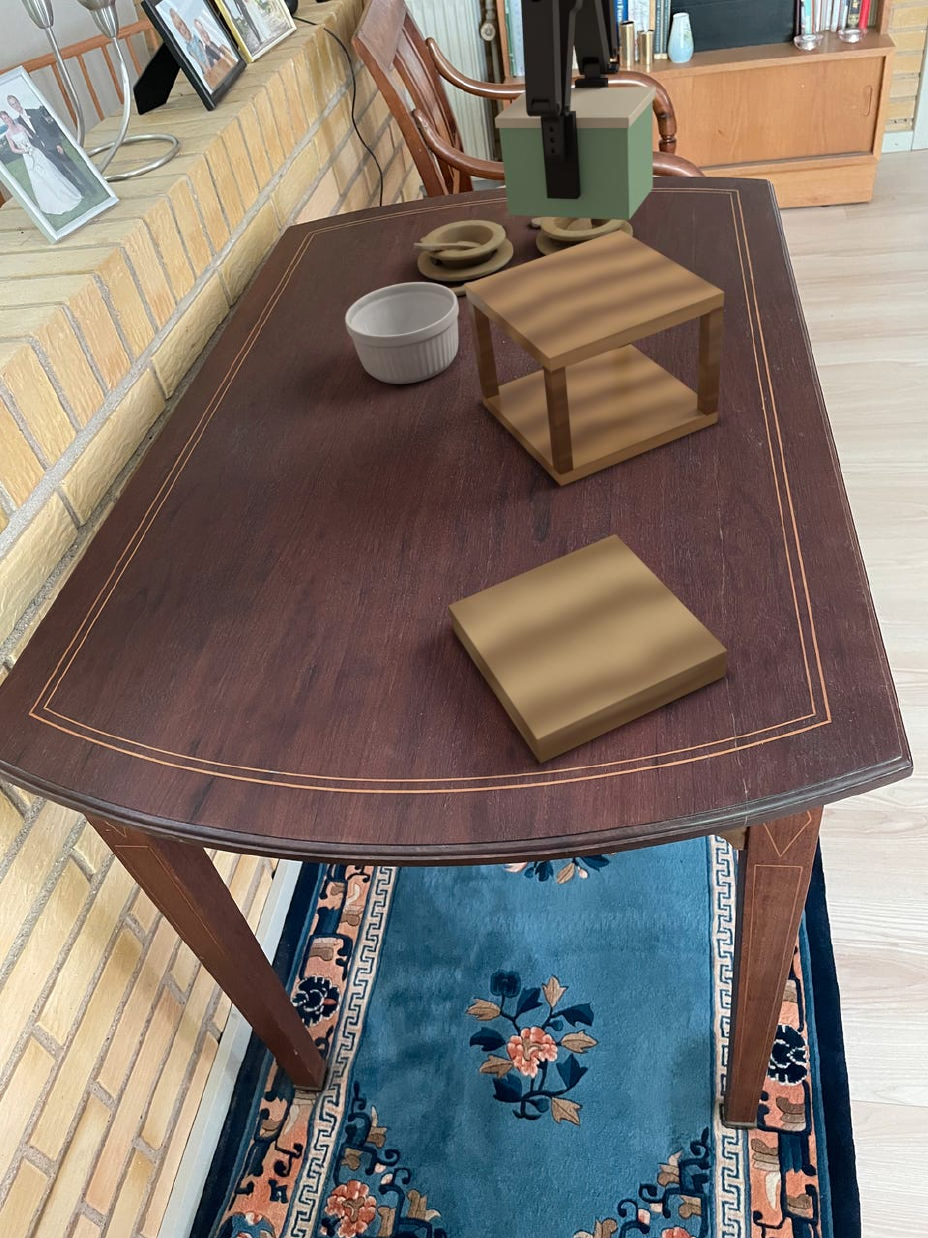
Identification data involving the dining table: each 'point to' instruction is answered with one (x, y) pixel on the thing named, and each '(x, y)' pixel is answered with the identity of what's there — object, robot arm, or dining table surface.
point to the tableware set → (499, 245)
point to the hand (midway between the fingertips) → (579, 177)
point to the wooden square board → (585, 645)
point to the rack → (596, 353)
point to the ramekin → (405, 331)
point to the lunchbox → (584, 155)
